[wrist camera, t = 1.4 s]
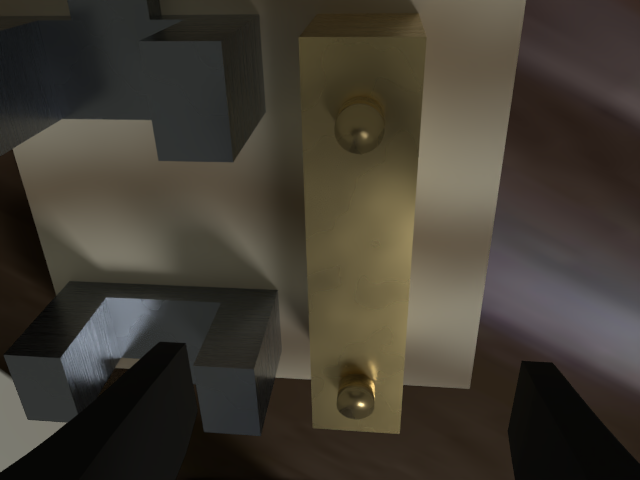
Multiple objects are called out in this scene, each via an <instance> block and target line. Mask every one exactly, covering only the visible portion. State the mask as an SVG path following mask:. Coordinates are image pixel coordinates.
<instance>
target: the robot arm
mask: <svg viewBox="0 0 640 480" xmlns="http://www.w3.org/2000/svg"><path fill="white" fill-rule="evenodd" d="M197 411H198V410H197V404H196V398H195V393H194V387H193V381H192V375H191V370H190V364H189V358H188V352H187V346H186V343H176V342H158V343H157V344H156V345H155V346H154V347H153V348H152V349H151V350H149V351H148V352H147V353H146V354H145V355H144V356H143V357H142V358H141V359H139V360H138V361H137V362H136V363H135V364H134V365H133V366H132V367H131V368H130V369H129V370H128V371H126V372H125V373H124V374H123V375H122V376H121V377H120V378H119V379H118V380H117V381H115V382H114V383H113V384H112V385H111V386H110V387H109V388H108V389H107V390H105V391H104V392H103V393H102V394H101V395H100V396H99V397H97V398H96V399H95V400H94V401H93V402H92V403H91V404H90V405H88V406H87V407H86V408H85V409H84V410H82V411H81V412H80V413H79V414H78V415H76V416H75V417H74V418H73V419H71V420H70V421H69V422H68V423H66V424H65V425H64V426H63V427H62V428H60V429H59V430H58V431H57V432H56V433H54V434H53V435H52V436H50V437H49V438H48V439H47V440H45V441H44V442H43V443H41V444H40V445H39V446H37V447H36V448H34V449H33V450H32V451H30V452H29V453H28V454H27V455H25V456H23V457H22V458H20V459H19V460H18V461H16V462H15V463H13V464H12V465H10V466H9V467H8V468H6V469H5V470H3V471H2V472H0V480H175V479H176V477H177V475H178V472H179V470H180V467H181V465H182V462H183V460H184V457H185V455H186V451H187V448H188V444H189V441H190V438H191V434H192V430H193V426H194V423H195V419H196V415H197ZM508 436H509V443H510V450H511V457H512V463H513V470H514V476H515V480H640V464H639V463H638V462H637V461H636V459H635V458H634V457H633V456H632V455H631V454H630V453H629V452H628V451H627V450H626V449H625V448H624V446H623V445H622V444H621V443H620V442H619V441H618V440H617V439H616V437H615V436H614V435H613V434H612V433H611V432H610V431H609V430H608V429H607V427H606V426H605V425H604V424H603V423H602V422H601V421H600V419H599V418H598V417H597V416H596V415H595V413H594V412H593V411H592V410H591V409H590V408H589V406H588V405H587V404H586V403H585V402H584V400H583V399H582V398H581V397H580V395H579V394H578V393H577V392H576V391H575V389H574V388H573V387H572V386H571V384H570V383H569V382H568V381H567V380H566V378H565V377H564V376H563V375H562V373H561V372H560V371H559V370H558V369H557V367H556V366H555V365H554V364H553V363H550V362H531V361H522V363H521V368H520V373H519V378H518V383H517V388H516V393H515V398H514V403H513V408H512V413H511V418H510V423H509V428H508Z"/></svg>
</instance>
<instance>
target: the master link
mask: <svg viewBox="0 0 640 480" xmlns="http://www.w3.org/2000/svg"><path fill="white" fill-rule="evenodd" d="M426 41H427V36H426V33H425V30H424V27H423V24H422V21H421V18H420V16H419V13H375V14H316V16H315V17H314V18H313V20H312V21H311V22H310V23H309V25H308V26H307V27H306V28H305V30H304V31H303V32H302V33H301V35H300V36H299V63H300V91H301V118H302V145H303V173H304V200H305V227H306V255H307V282H308V309H309V337H310V364H311V391H312V419H313V428H320V429H335V430H349V431H364V432H379V433H394V434H400V421H401V407H402V392H403V377H404V363H405V348H406V334H407V319H408V304H409V290H410V275H411V260H412V246H413V231H414V216H415V202H416V187H417V173H418V158H419V143H420V129H421V114H422V99H423V85H424V70H425V56H426Z"/></svg>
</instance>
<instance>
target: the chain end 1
mask: <svg viewBox="0 0 640 480" xmlns="http://www.w3.org/2000/svg"><path fill="white" fill-rule="evenodd" d="M67 2H68V7H69V11H70V16H0V156H1V155H3V154H4V153H6V152H8V151H10V150H11V149H13V148H15V147H16V146H18V145H20V144H21V143H23V142H25V141H26V140H28V139H30V138H31V137H33V136H35V135H36V134H38V133H40V132H41V131H43V130H45V129H46V128H48V127H50V126H51V125H53V124H55V123H56V122H58V121H60V120H61V119H106V120H152V126H153V132H154V138H155V143H156V149H157V155H158V161H186V162H234V160H235V159H236V157H237V156H238V154H239V153H240V151H241V150H242V148H243V147H244V145H245V144H246V142H247V140H248V139H249V137H250V136H251V134H252V133H253V131H254V130H255V128H256V127H257V125H258V124H259V122H260V120H261V119H262V117H263V116H264V114H265V113H266V106H265V92H264V77H263V62H262V47H261V32H260V17H259V14H231V15H162V14H161V8H160V1H159V0H67Z"/></svg>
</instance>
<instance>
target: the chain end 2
mask: <svg viewBox="0 0 640 480" xmlns="http://www.w3.org/2000/svg"><path fill="white" fill-rule="evenodd" d="M158 342H176V343H186V346H187V352H188V358H189V364H190V370H191V375H192V381H193V384H196V387H197V393H198V399H199V405H200V411H201V417H202V423H203V429H204V432H212V433H226V434H241V435H255V436H261V432H262V428H263V424H264V420H265V416H266V412H267V408H268V404H269V400H270V396H271V392H272V388H273V384H274V380H275V376H276V372H277V368H278V364H279V360H280V356H281V352H282V344H281V329H280V314H279V299H278V290H267V289H244V288H221V287H197V286H174V285H151V284H127V283H104V282H81V281H69V282H68V283H67V284H66V285H65V287H64V288H63V289H62V290H61V291H60V292H59V293H58V294H57V296H56V297H55V298H54V299H53V300H52V301H51V302H50V303H49V304H48V306H47V307H46V308H45V309H44V310H43V311H42V312H41V313H40V315H39V316H38V317H37V318H36V319H35V320H34V321H33V322H32V324H31V325H30V326H29V327H28V328H27V329H26V330H25V331H24V333H23V334H22V335H21V336H20V337H19V338H18V339H17V340H16V341H15V343H14V344H13V345H12V346H11V347H10V348H9V349H8V350H7V352H6V353H5V354H4V358H5V360H6V363H7V366H8V368H9V371H10V374H11V376H12V379H13V382H14V384H15V387H16V390H17V392H18V395H19V397H20V400H21V403H22V405H23V408H24V411H25V414H26V416H27V419H28V420H39V421H54V422H69V421H70V420H71V419H73V418H74V417H75V416H76V415H78V414H79V413H80V412H81V411H82V410H84V409H85V408H86V407H87V406H88V405H90V404H91V403H92V402H93V401H94V400H95V399H96V398H97V396H98V395H99V393H100V391H101V390H102V388H103V387H104V385H105V383H106V382H107V380H108V378H109V377H110V375H111V374H112V372H113V370H114V369H115V367H116V365H117V364H118V362H119V361H120V359H121V358H132V359H141V358H142V357H143V356H144V355H145V354H146V353H147V352H148V351H149V350H151V349H152V348H153V347H154V346H155V345H156V344H157V343H158Z"/></svg>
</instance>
